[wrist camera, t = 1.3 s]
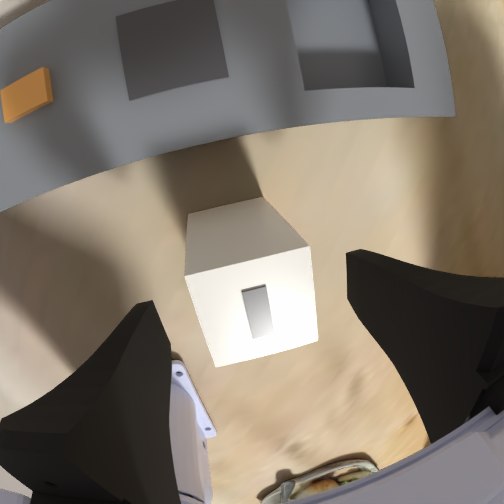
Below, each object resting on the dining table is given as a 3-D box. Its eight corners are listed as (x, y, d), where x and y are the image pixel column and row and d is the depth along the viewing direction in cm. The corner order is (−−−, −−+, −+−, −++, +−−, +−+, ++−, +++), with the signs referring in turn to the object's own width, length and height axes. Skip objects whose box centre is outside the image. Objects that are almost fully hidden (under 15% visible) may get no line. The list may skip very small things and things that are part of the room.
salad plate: (224, 490, 29) (229, 520, 25) (358, 435, 29) (374, 466, 24) (284, 513, 38) (290, 534, 33) (381, 472, 37) (391, 492, 33)
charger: (274, 264, 18) (318, 341, 11) (205, 280, 17) (215, 368, 11) (263, 196, 16) (310, 246, 10) (188, 213, 16) (184, 277, 9)
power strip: (396, -13, 12) (430, -29, 8) (422, 114, 15) (463, 117, 12) (-48, 91, 9) (-83, 91, 6) (-23, 220, 13) (-56, 241, 10)
